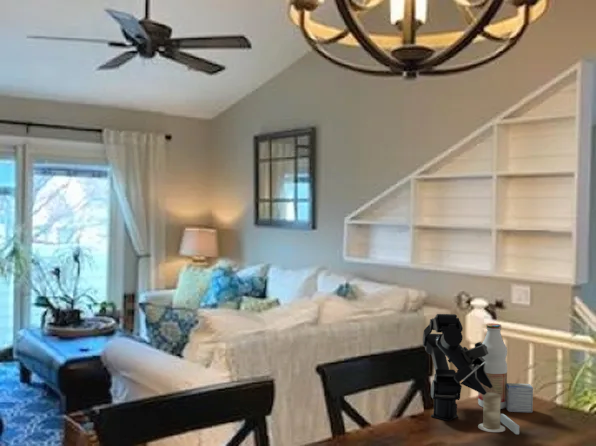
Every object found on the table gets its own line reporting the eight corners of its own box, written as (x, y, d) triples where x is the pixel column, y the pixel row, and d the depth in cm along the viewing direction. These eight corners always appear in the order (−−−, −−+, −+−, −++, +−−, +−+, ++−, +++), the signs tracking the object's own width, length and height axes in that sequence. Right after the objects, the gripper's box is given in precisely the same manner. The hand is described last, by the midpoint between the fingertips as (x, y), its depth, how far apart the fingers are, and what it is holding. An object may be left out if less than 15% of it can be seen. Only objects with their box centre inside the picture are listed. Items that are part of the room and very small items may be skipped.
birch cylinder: (480, 427, 204) (480, 394, 204) (487, 423, 208) (487, 391, 208) (495, 430, 201) (496, 397, 201) (502, 426, 205) (503, 394, 205)
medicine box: (529, 409, 225) (530, 383, 225) (532, 413, 221) (533, 387, 221) (505, 408, 226) (506, 382, 226) (508, 412, 222) (508, 386, 222)
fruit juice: (491, 411, 222) (493, 327, 222) (472, 403, 231) (473, 323, 230) (512, 407, 227) (514, 325, 226) (492, 400, 235) (494, 321, 234)
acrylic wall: (500, 421, 211) (500, 413, 211) (503, 421, 211) (503, 413, 211) (515, 434, 199) (516, 426, 199) (519, 434, 199) (519, 426, 199)
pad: (473, 428, 204) (473, 427, 204) (484, 422, 210) (484, 421, 210) (498, 434, 199) (498, 433, 199) (509, 427, 205) (509, 426, 205)
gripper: (465, 339, 200) (502, 380, 195) (479, 330, 216) (513, 368, 211) (438, 362, 203) (474, 403, 198) (454, 352, 220) (487, 390, 215)
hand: (488, 390), depth 205 cm, fingers open, 9 cm apart
